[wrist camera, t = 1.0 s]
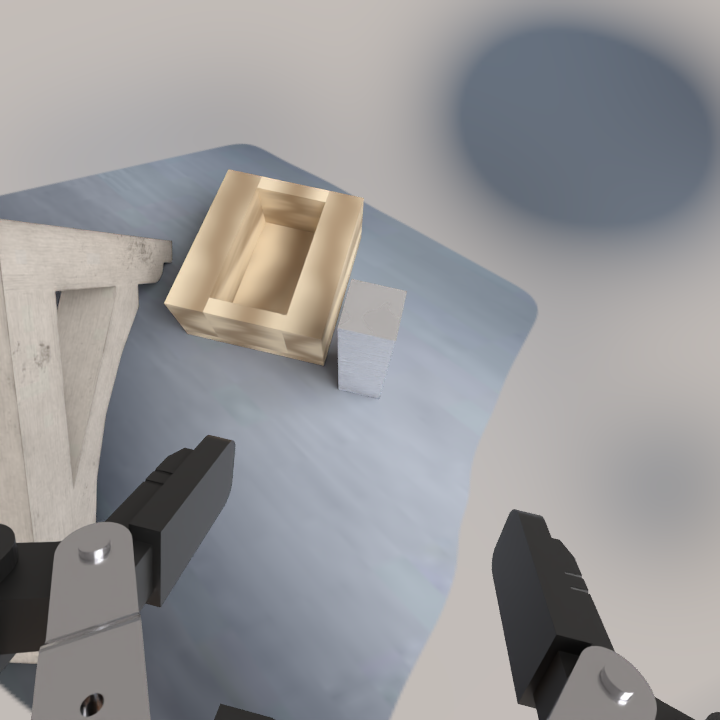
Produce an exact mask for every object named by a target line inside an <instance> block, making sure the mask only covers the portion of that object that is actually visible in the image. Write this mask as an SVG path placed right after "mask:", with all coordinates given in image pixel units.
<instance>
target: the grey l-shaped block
mask: <svg viewBox="0 0 720 720" xmlns="http://www.w3.org/2000/svg"><path fill="white" fill-rule="evenodd" d="M406 293H407V291H403V290H399V289H394V288H390V287H385V286H381V285H376V284H372V283H367V282H363V281H358V280H354V279H351V283H350V286H349V290H348V293H347V297H346V300H345V304H344V307H343V311H342V314H341V318H340V321H339V325H338V383H339V390H343V391H347V392H352V393H356V394H360V395H364V396H368V397H373V398H377V399H379V398H380V395H381V391H382V388H383V384H384V381H385V377H386V374H387V370H388V367H389V363H390V360H391V356H392V353H393V349H394V346H395V342H396V338H397V334H398V329H399V325H400V320H401V316H402V311H403V307H404V302H405V298H406Z"/></svg>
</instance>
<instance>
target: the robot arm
mask: <svg viewBox="0 0 720 720" xmlns="http://www.w3.org/2000/svg"><path fill="white" fill-rule="evenodd" d="M234 455H235V442H234V441H232V440H228V439H224V438H220V437H216V436H211V435H207V436H206V437H205V438H204V439H203V440H202V441H201V443H200V444H199V445H198V446H197V447H196V448H195V449H194V450H192V449H188V448H183V449H182V450H180V451H178V452H176V453H174V454H172V455H170V456H168V457H167V458H166V459H165V460H164V461H163V462H162V463H161V464H160V465H159V466H158V467H157V468H156V470H155V472H154V471H153V472H152V473H151V474H150V475H149V476H148V477H147V479H146V481H145V482H143V483H142V484H141V485H140V486H139V487H138V488H137V489H136V490H135V491H134V492H133V493H132V494H131V495H130V496H129V497H128V498H127V499H126V500H125V501H124V502H123V503H122V504H121V505H120V506H119V508H118V509H117V510H116V511H115V512H114V513H113V514H112V515H111V516H110V517H109V518H108V519H107V520H106V521H105V522H99V523H93V524H90V525H86V526H84V527H81V528H79V529H77V530H75V531H74V532H72V533H70V534H69V535H68V536H67V537H65V538H64V539H63V540H62V541H56V542H26V543H16V539H15V533H14V532H13V530H12V529H11V528H10V527H8V526H6V525H4V524H0V673H1V672H2V671H3V669H4V668H5V667H6V666H7V664H8V663H9V662H10V661H11V659H12V658H13V657H14V656H15V654H16V653H26V652H37V651H39V655H38V662H37V670H36V680H35V689H34V698H33V707H32V716H31V720H150V709H149V699H148V688H147V677H146V667H145V656H144V645H143V635H142V624H141V616H140V614H139V612H140V611H141V609H142V608H143V606H144V605H145V603H146V604H150V605H154V606H157V607H161V606H162V604H163V603H164V601H165V600H166V598H167V596H168V595H169V593H170V592H171V590H172V588H173V587H174V585H175V584H176V582H177V580H178V579H179V577H180V576H181V574H182V572H183V571H184V569H185V568H186V566H187V565H188V563H189V561H190V560H191V558H192V557H193V555H194V553H195V552H196V550H197V549H198V547H199V545H200V544H201V542H202V541H203V539H204V537H205V536H206V534H207V533H208V531H209V530H210V528H211V526H212V525H213V523H214V522H215V520H216V518H217V517H218V515H219V514H220V512H221V510H222V509H223V507H224V506H225V504H226V502H227V499H228V497H229V494H230V491H231V486H232V478H233V467H234ZM492 574H493V579H494V584H495V590H496V595H497V599H498V605H499V610H500V615H501V620H502V625H503V630H504V636H505V641H506V646H507V650H508V656H509V661H510V666H511V671H512V676H513V681H514V686H515V691H516V697H517V702H518V704H521V705H525V706H529V707H533V708H536V709H537V713H538V718H539V720H695V719H693V718H691V717H689V716H687V715H686V714H684V713H682V712H680V711H678V710H677V709H675V708H673V707H671V706H669V705H668V704H666V703H664V702H662V701H661V700H659V699H657V698H656V697H654V694H653V692H652V690H651V688H650V686H649V684H648V683H647V681H646V680H645V678H644V677H643V676H642V675H641V673H640V672H639V671H638V670H637V669H636V668H635V667H634V666H633V665H632V664H631V663H630V662H629V661H627V660H626V659H625V658H623V657H622V656H620V655H619V654H617V653H616V652H615V651H614V649H613V646H612V644H611V642H610V639H609V637H608V635H607V633H606V630H605V628H604V626H603V623H602V621H601V619H600V616H599V614H598V612H597V609H596V607H595V605H594V602H593V600H592V598H591V595H590V594H588V589H587V586H586V584H585V581H584V579H582V575H581V572H580V570H579V568H578V565H577V563H576V561H575V558H574V557H573V555H572V554H571V553H570V552H569V551H568V549H567V548H566V547H565V546H564V545H563V543H562V542H561V541H560V540H558V539H553V538H551V535H550V533H549V530H548V528H547V525H546V523H545V520H544V519H543V517H542V516H540V515H535V514H531V513H527V512H523V511H519V510H515V509H514V510H512V511H511V512H510V514H509V516H508V519H507V521H506V523H505V525H504V528H503V530H502V533H501V535H500V537H499V540H498V542H497V544H496V547H495V549H494V553H493V558H492ZM214 720H274V719H273V718H271V717H267V716H263V715H260V714H256V713H252V712H249V711H245V710H241V709H238V708H234V707H230V706H227V705H223V704H220V706H219V709H218V711H217V714H216V716H215V719H214ZM705 720H720V712H715V713H712V714H710V715H709V716H708V717H707V718H706V719H705Z"/></svg>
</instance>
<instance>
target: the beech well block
mask: <svg viewBox="0 0 720 720" xmlns="http://www.w3.org/2000/svg"><path fill="white" fill-rule="evenodd" d="M363 201H364V198H360V197H356V196H351V195H346V194H342V193H337V192H332V191H328V190H323V189H318V188H314V187H309V186H304V185H299V184H295V183H290V182H285V181H281V180H276V179H271V178H267V177H262V176H257V175H253V174H248V173H243V172H239V171H234V170H228V172H227V174H226V176H225V178H224V180H223V182H222V184H221V186H220V188H219V190H218V192H217V195H216V197H215V199H214V201H213V203H212V205H211V207H210V209H209V211H208V213H207V215H206V217H205V219H204V221H203V224H202V226H201V228H200V230H199V232H198V234H197V236H196V238H195V240H194V242H193V244H192V246H191V248H190V250H189V253H188V255H187V257H186V259H185V261H184V263H183V265H182V267H181V269H180V271H179V273H178V275H177V277H176V279H175V282H174V284H173V286H172V288H171V290H170V292H169V294H168V296H167V298H166V300H165V302H164V304H165V305H166V306H167V308H168V309H169V310H170V312H171V313H172V314H173V315H174V317H175V318H176V319H177V321H178V322H179V323H180V325H181V326H182V327H183V328H184V330H185V331H186V332H187V334H191V335H195V336H199V337H203V338H208V339H212V340H216V341H220V342H225V343H229V344H233V345H237V346H242V347H246V348H250V349H254V350H259V351H263V352H267V353H272V354H276V355H280V356H284V357H289V358H293V359H297V360H301V361H306V362H310V363H314V364H318V365H323V366H324V364H325V360H326V357H327V353H328V350H329V346H330V343H331V339H332V336H333V332H334V329H335V326H336V322H337V319H338V315H339V312H340V308H341V305H342V301H343V298H344V295H345V291H346V288H347V284H348V281H349V277H350V274H351V270H352V267H353V263H354V260H355V257H356V253H357V250H358V246H359V243H360V239H361V230H362V215H363Z"/></svg>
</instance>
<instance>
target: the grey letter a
mask: <svg viewBox="0 0 720 720" xmlns="http://www.w3.org/2000/svg"><path fill="white" fill-rule="evenodd" d="M164 262H168V263H172V241H166V240H159V239H151V238H143V237H136V236H128V235H120V234H113V233H105V232H97V231H90V230H82V229H74V228H67V227H59V226H51V225H43V224H36V223H28V222H20V221H13V220H5V219H0V524H4V525H6V526H8V527H10V528H11V529H12V530H13V532H14V533H15V539H16V543H26V542H56V541H62V540H63V539H64V538H65V537H67V536H68V535H69V534H70V533H72V532H74V531H75V530H77V529H79V528H81V527H84V526H86V525H90V524H93V523H96V495H97V474H98V467H99V460H100V453H101V446H102V439H103V432H104V425H105V418H106V412H107V408H108V405H109V401H110V397H111V393H112V389H113V385H114V382H115V378H116V374H117V370H118V366H119V362H120V359H121V355H122V352H123V349H124V346H125V343H126V340H127V338H128V335H129V332H130V329H131V327H132V324H133V321H134V318H135V316H136V313H137V310H138V307H139V297H138V284H147V283H156V282H158V281H159V280H160V278H161V275H162V273H163V263H164ZM55 291H61V297H60V301H59V305H58V309H57V305H56V295H55ZM38 655H39V651H37V652H26V653H16V654H15V656H14V657H13V658H12V659H11V661H10V663H31V664H37V662H38Z"/></svg>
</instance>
